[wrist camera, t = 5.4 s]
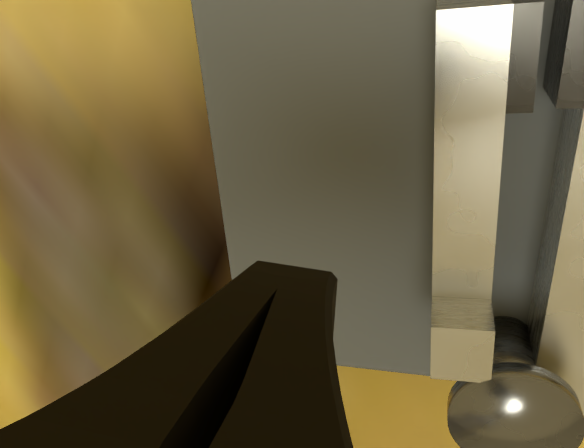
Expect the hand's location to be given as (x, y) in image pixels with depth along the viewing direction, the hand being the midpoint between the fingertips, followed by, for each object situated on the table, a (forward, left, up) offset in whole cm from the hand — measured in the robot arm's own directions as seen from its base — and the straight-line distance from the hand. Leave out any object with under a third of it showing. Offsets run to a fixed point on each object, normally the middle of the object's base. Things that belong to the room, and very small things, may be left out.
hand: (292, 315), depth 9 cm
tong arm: (-3, -4, -8) cm, 10 cm away
